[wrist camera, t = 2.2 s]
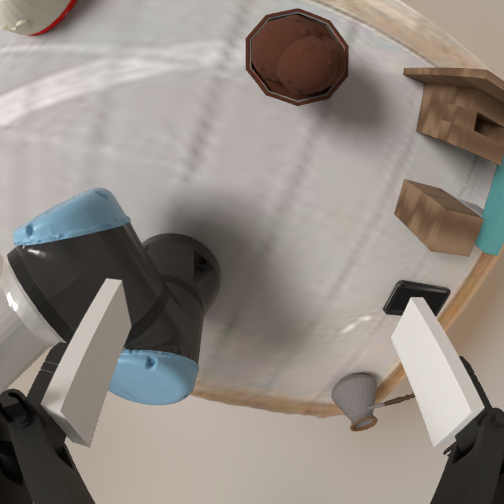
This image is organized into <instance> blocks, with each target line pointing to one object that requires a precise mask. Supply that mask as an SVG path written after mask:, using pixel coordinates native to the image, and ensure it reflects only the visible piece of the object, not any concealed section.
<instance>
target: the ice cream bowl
mask: <svg viewBox="0 0 504 504" xmlns="http://www.w3.org/2000/svg"><path fill="white" fill-rule="evenodd" d="M246 70H247V71H248V73H249V74H250V75H251V76H252V78H253V79H254V80H255V82H256V83H257V84H258V85H259V87H260V88H261V89H262V91H263V92H264V93H265V95H267V96H270V97H273V98H276V99H279V100H282V101H285V102H288V103H291V104H293V105H296V106H300V105H304V104H308V103H312V102H317V101H321V100H325V99H329V98H330V97H331V96H332V94H333V93H334V92H335V91H336V90H337V88H338V87H339V86H340V85H341V84H342V82H343V81H344V80H345V79H346V78H347V77H348V45H347V43H346V42H345V41H344V39H343V38H342V36H341V35H340V34H339V32H338V31H337V29H336V28H335V27H334V25H333V24H332V23H331V21H330V20H327V19H325V18H322V17H320V16H317V15H315V14H312V13H310V12H307V11H304V10H302V9H299V8H298V9H292V10H287V11H282V12H278V13H273V14H269V15H266V16H265V17H264V18H263V19H262V20H261V21H260V23H259V24H258V25H257V26H256V27H255V28H254V29H253V31H252V32H251V33H250V34H249V35H248V36H247V38H246Z"/></svg>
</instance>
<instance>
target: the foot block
mask: <svg viewBox="0 0 504 504" xmlns="http://www.w3.org/2000/svg"><path fill="white" fill-rule="evenodd" d="M394 214H395V215H396V216H397V217H398V218H399V219H400V220H401V221H402V222H403V223H404V224H405V225H406V226H407V227H408V228H409V229H410V230H411V231H412V232H413V233H414V234H415V235H416V236H417V237H418V238H419V239H420V240H421V241H422V242H423V243H424V244H425V245H426V246H427V248H428V249H429V250H430V251H433V252H441V253H448V254H455V255H462V256H470V253H471V251H472V249H473V246H474V244H475V242H476V239H477V237H478V234H479V231H480V229H481V226H482V224H483V221H484V219H483V218H482V217H481V216H479V215H478V214H477V213H475V212H474V211H472V210H471V209H470V208H468V207H467V206H466V205H464V204H463V203H461V202H460V201H458V200H457V199H455V198H454V197H452V196H451V195H450V194H448V193H447V192H445V191H443V190H442V189H440V188H436V187H432V186H429V185H425V184H421V183H417V182H413V181H409V180H405V179H404V182H403V186H402V190H401V193H400V197H399V200H398V203H397V207H396V210H395V213H394Z"/></svg>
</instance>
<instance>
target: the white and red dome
mask: <svg viewBox="0 0 504 504" xmlns="http://www.w3.org/2000/svg"><path fill="white" fill-rule="evenodd" d="M76 1H77V0H0V22H1V23H2V24H3V25H2V26H1V28H2V29H5V30H8V31H10V32H14V33H18V34H21V35H32V36H35V35H39V34H42V33H45V32H47V31H48V30H50V29H52V28H54V27H55V26H56V25H57V24H58V23H59V22H60V21H62V20H63V19H64V18H65V16H66V15H67V14H68V13H69V12H70V10H71V9H72V7H73V6H74V4H75V2H76Z"/></svg>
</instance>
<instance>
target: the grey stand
mask: <svg viewBox="0 0 504 504" xmlns="http://www.w3.org/2000/svg"><path fill="white" fill-rule="evenodd" d="M460 202H461V203H463V204H464V205H466V206H467V207H468V208H470V209H471V210H472V211H474V212H475V213H477V214H478V215H479V216H482V213H483V210H484V209H482V208H481V207H479V206H478V205H475V204H472V203H468V202H465V201H462V200H461V201H460Z"/></svg>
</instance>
